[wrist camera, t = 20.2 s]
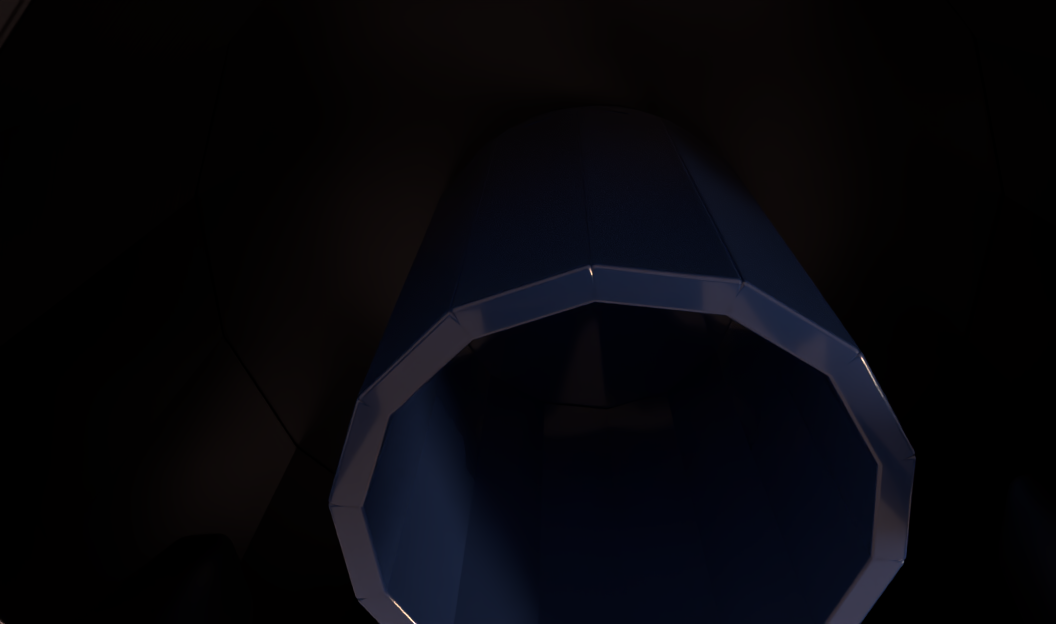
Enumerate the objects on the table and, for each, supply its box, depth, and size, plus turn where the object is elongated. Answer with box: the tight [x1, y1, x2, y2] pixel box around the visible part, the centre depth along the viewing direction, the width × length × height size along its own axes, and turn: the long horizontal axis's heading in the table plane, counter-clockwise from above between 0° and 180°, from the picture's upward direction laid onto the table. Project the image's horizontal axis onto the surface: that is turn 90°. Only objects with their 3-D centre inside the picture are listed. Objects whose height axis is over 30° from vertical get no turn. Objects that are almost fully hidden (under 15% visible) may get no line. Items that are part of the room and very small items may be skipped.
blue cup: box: [328, 105, 916, 624], centre depth 11 cm, size 6×6×6 cm
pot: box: [0, 0, 1056, 624], centre depth 11 cm, size 14×20×7 cm
